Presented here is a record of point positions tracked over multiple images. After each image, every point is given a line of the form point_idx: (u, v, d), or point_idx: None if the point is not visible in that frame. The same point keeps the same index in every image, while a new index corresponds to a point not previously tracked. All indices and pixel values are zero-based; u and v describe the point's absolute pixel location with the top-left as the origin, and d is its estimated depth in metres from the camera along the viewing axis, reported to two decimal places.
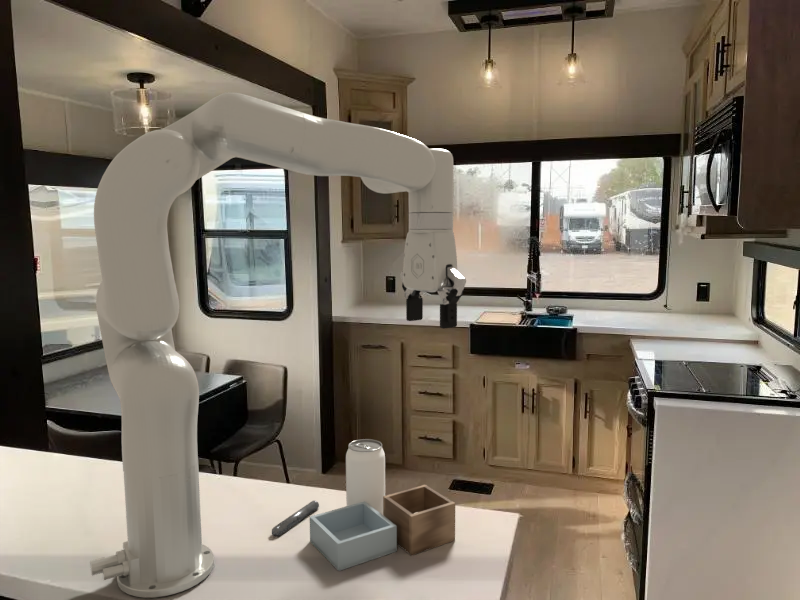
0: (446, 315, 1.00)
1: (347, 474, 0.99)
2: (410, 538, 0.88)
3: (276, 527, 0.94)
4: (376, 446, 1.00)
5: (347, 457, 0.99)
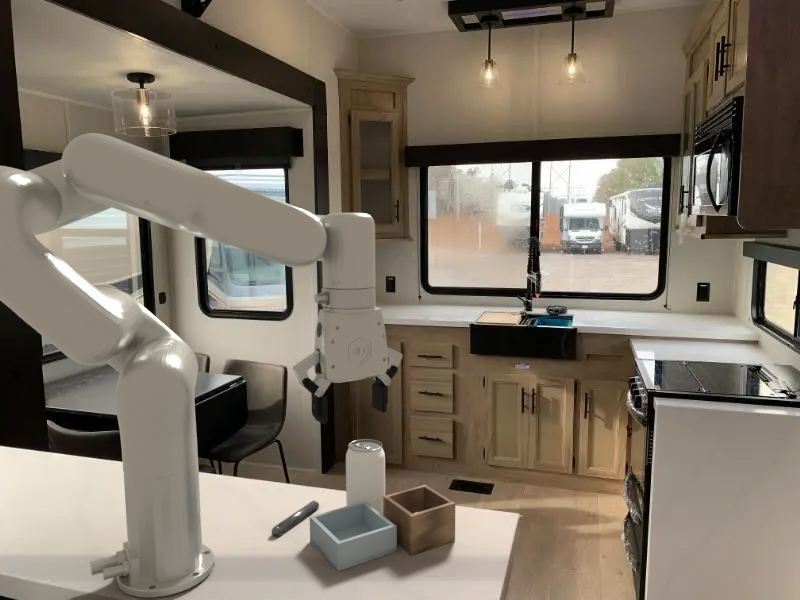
0: None
1: (347, 474, 0.99)
2: (410, 538, 0.88)
3: (276, 527, 0.94)
4: (376, 446, 1.00)
5: (347, 457, 0.99)
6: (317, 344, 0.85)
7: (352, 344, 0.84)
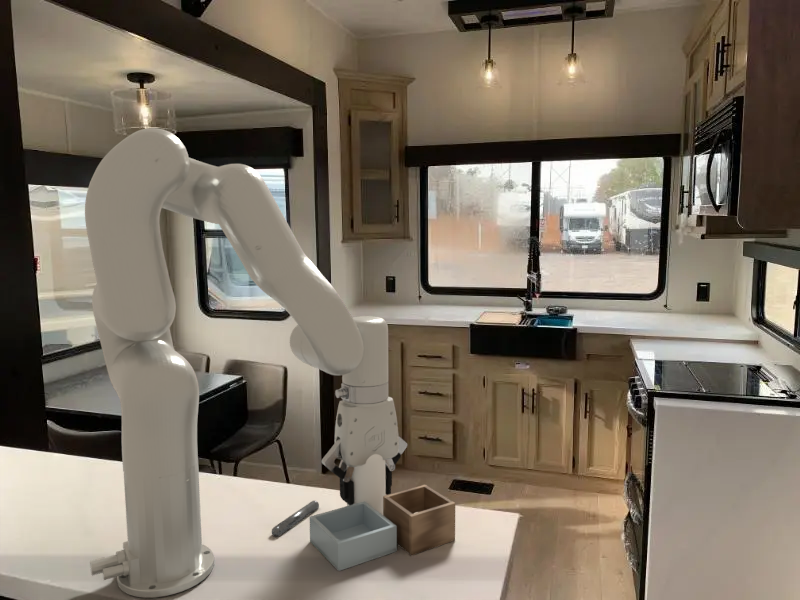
0: None
1: None
2: (410, 538, 0.88)
3: (276, 527, 0.94)
4: None
5: None
6: (337, 432, 0.97)
7: (368, 433, 0.97)
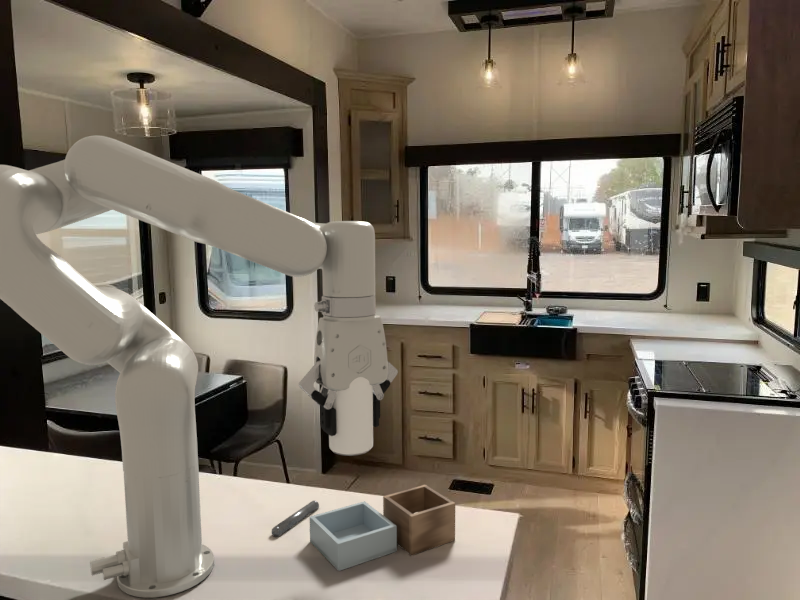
0: None
1: None
2: (410, 538, 0.88)
3: (276, 527, 0.94)
4: None
5: None
6: (317, 352, 0.85)
7: (352, 352, 0.85)
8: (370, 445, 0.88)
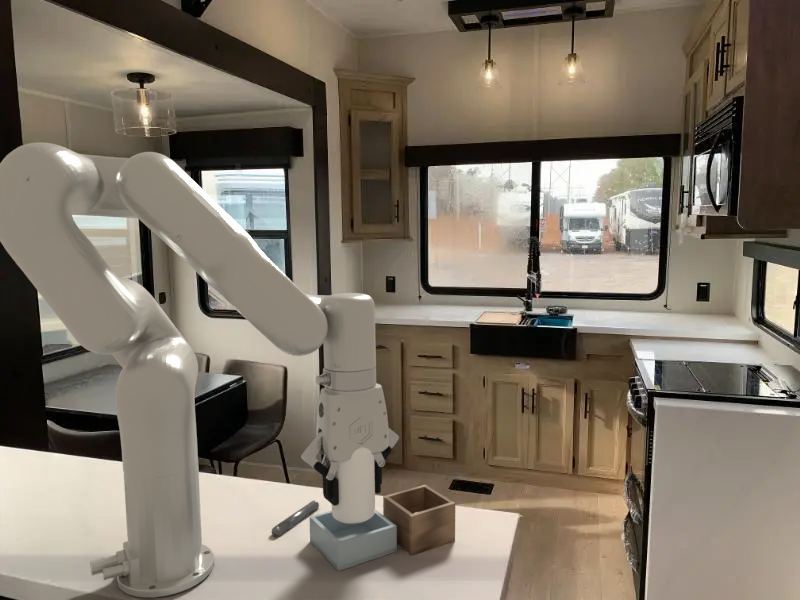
0: None
1: None
2: (410, 538, 0.88)
3: (276, 527, 0.94)
4: None
5: None
6: (319, 424, 0.86)
7: (353, 424, 0.86)
8: (372, 513, 0.89)
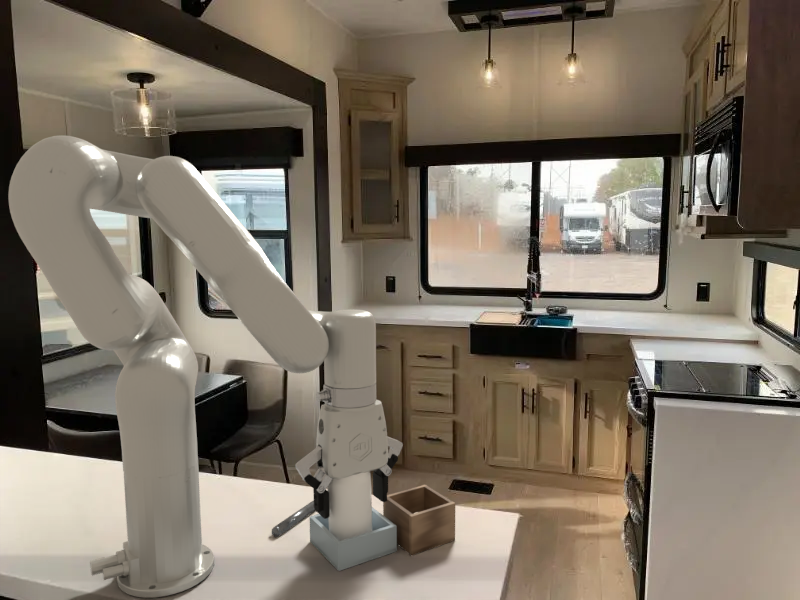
0: None
1: (329, 499, 0.88)
2: (410, 538, 0.88)
3: (276, 527, 0.94)
4: None
5: None
6: (319, 440, 0.87)
7: (353, 441, 0.86)
8: None
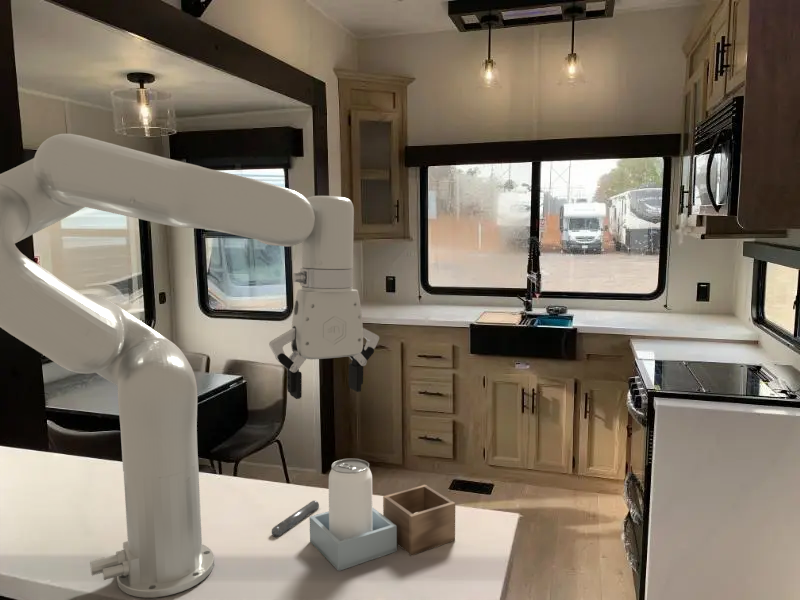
0: None
1: (330, 498, 0.89)
2: (410, 538, 0.88)
3: (276, 527, 0.94)
4: (362, 466, 0.90)
5: (330, 479, 0.88)
6: (294, 322, 0.88)
7: (327, 323, 0.88)
8: None
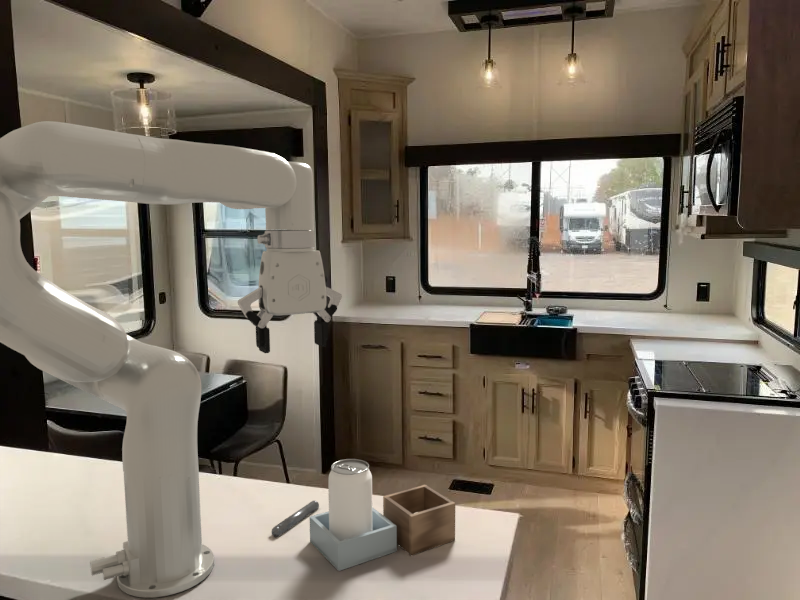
0: None
1: (330, 499, 0.89)
2: (410, 538, 0.88)
3: (276, 527, 0.94)
4: (362, 467, 0.90)
5: (330, 480, 0.88)
6: (260, 281, 0.94)
7: (291, 281, 0.94)
8: None
